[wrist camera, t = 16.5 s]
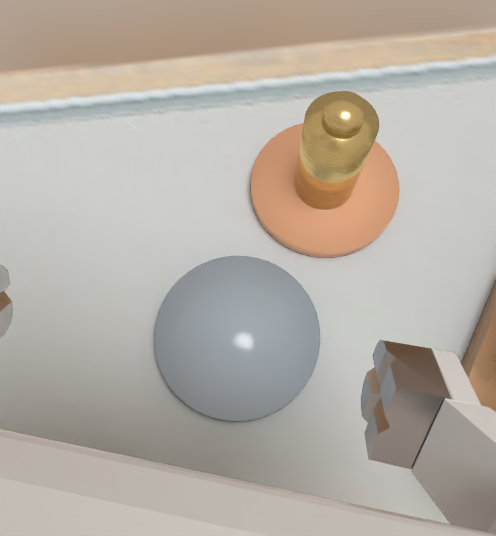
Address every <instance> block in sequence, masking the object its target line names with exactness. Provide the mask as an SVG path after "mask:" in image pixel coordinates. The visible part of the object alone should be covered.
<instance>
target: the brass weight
mask: <svg viewBox="0 0 496 536" xmlns="http://www.w3.org/2000/svg"><path fill="white" fill-rule="evenodd" d="M378 130H379V119H378V116H377V113H376V111H375V109H374V108H373V107H372V105H371V104H370V103H369V102H367V101H366V100H365V99H363V98H362V97H360V96H359V95H357V94H355V93H352V92H348V91H341V92H331V93H327V94H324V95H322V96H320V97H318V98H317V99H316V100H314V101H313V102H312V103H311V104H310V106H309V107H308V109H307V111H306V114H305V120H304V126H303V131H302V137H301V143H300V149H299V155H298V161H297V167H296V173H295V178H294V187H295V191H296V193H297V195H298V196H299V198H300V199H301V200H302V201H303V202H304V203H305V204H307V205H308V206H310V207H313V208H315V209H320V210H331V209H335V208H338V207H340V206H341V205H343V204H344V203H345V202H347V200H348V199H349V198H350V196H351V194H352V192H353V189H354V187H355V185H356V182H357V180H358V178H359V175H360V173H361V171H362V168H363V166H364V164H365V161H366V159H367V157H368V154H369V152H370V150H371V147H372V145H373V143H374V140H375V138H376V136H377V133H378Z"/></svg>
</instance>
